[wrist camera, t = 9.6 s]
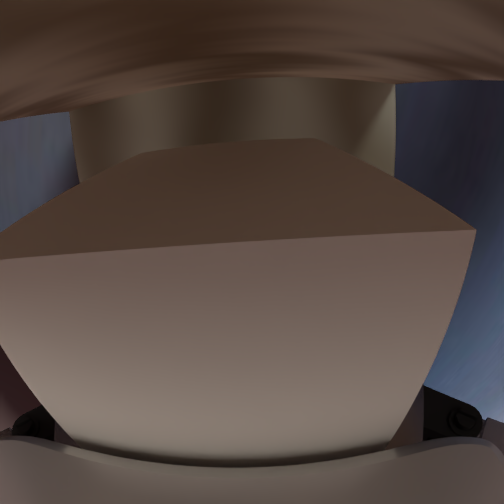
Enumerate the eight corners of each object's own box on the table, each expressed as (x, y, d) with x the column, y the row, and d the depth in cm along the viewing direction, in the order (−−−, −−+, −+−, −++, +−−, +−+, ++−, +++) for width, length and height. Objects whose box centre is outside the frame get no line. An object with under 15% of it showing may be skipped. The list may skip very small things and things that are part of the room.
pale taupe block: (315, 138, 9) (477, 230, 2) (305, 394, 15) (324, 525, 8) (141, 152, 10) (-40, 262, 2) (198, 398, 16) (183, 528, 8)
